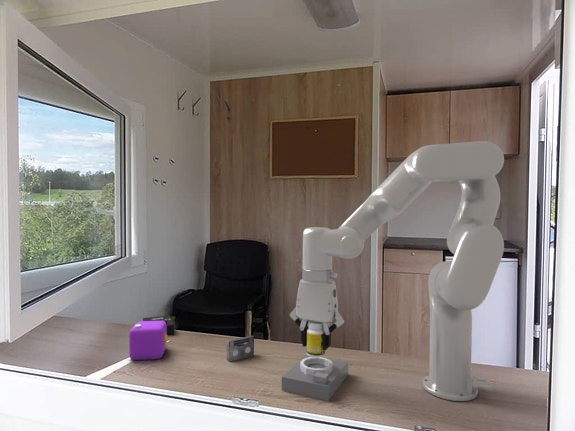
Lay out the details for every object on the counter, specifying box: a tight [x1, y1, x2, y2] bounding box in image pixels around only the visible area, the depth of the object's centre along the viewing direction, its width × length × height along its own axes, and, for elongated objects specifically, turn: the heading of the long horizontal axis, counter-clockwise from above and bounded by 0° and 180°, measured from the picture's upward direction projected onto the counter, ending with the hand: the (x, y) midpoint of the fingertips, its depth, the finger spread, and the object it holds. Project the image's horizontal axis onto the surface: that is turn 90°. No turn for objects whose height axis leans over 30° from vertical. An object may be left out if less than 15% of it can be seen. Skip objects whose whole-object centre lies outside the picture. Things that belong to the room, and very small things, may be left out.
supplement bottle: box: [305, 321, 326, 358], centre depth 99 cm, size 5×5×8 cm
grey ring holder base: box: [281, 353, 349, 402], centre depth 99 cm, size 12×16×5 cm
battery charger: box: [142, 315, 175, 337], centre depth 139 cm, size 13×10×4 cm
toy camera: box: [128, 320, 169, 361], centre depth 118 cm, size 11×14×10 cm
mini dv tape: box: [226, 335, 255, 362], centre depth 115 cm, size 8×2×6 cm, turn 123°
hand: (315, 346), depth 99 cm, fingers closed on supplement bottle, 4 cm apart
